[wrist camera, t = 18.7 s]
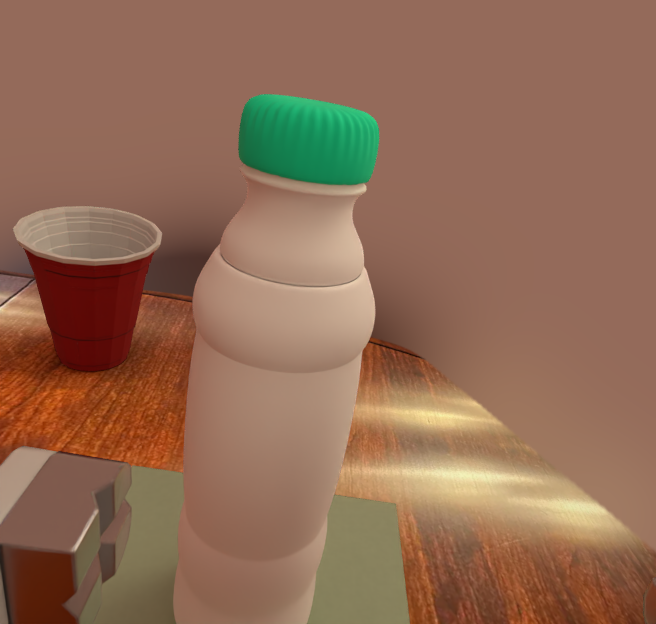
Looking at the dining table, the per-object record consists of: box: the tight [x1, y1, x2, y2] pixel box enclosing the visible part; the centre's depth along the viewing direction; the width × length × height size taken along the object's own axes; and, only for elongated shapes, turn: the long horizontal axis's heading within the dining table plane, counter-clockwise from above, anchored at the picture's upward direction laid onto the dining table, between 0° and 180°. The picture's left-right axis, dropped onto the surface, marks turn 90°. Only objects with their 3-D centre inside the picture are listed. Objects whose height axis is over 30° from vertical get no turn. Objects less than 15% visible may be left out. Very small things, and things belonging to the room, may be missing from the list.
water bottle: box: [173, 94, 379, 624], centre depth 23 cm, size 7×7×25 cm
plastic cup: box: [13, 206, 162, 371], centre depth 45 cm, size 11×11×12 cm
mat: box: [93, 466, 410, 624], centre depth 28 cm, size 18×18×1 cm
